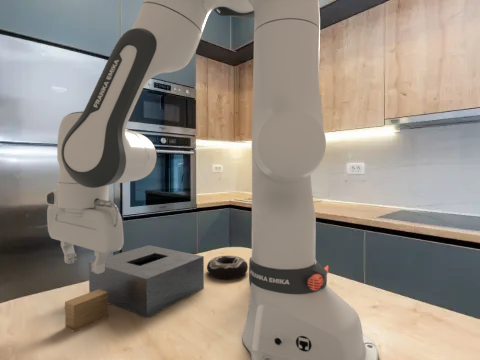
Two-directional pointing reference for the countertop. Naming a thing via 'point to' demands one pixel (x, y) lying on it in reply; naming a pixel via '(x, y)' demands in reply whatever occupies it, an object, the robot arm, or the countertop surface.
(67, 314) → the brown wooden block
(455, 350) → the countertop surface
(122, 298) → the post box
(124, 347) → the countertop surface
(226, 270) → the donut
